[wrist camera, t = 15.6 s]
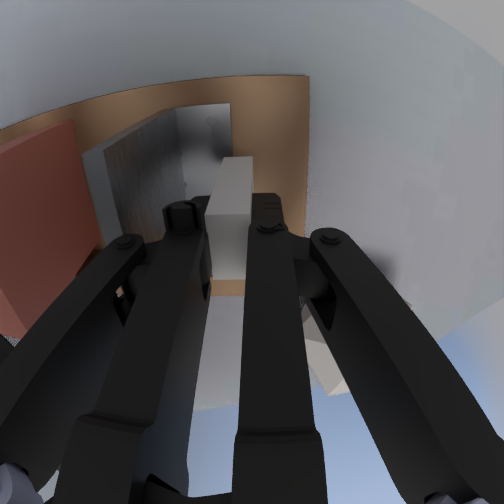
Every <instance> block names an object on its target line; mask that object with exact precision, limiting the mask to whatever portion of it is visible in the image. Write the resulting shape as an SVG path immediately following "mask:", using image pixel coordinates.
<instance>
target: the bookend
mask: <svg viewBox="0 0 504 504" xmlns="http://www.w3.org/2000/svg"><path fill="white" fill-rule="evenodd" d="M224 157H233V143H232V125H231V107H230V103H217V104H205V105H194V106H184V107H176V108H168V109H163V110H161V111H158V112H156V113H154V114H152V115H150V116H148V117H146V118H144V119H142V120H140V121H139V122H137V123H135V124H133V125H131V126H129V127H127V128H125V129H124V130H122V131H120V132H118V133H116V134H115V135H113V136H111V137H109V138H108V139H106V140H104V141H103V142H101V143H99V144H97V145H96V146H94V147H93V148H91V149H89V150H88V151H86V152H85V153H83V154H82V158H83V162H84V167H85V171H86V176H87V180H88V184H89V188H90V192H91V196H92V199H93V203H94V207H95V210H96V214H97V217H98V221H99V224H100V227H101V231H102V234H103V237H104V240H105V243H106V246H107V245H108V244H109V243H110V242H112V241H113V240H114V239H116V238H118V237H120V236H121V235H124V234H125V235H126V234H129V233H130V234H139V235H141V236H142V237H143V239H144V242H145V244H146V243H150V242H155V241H158V240H162V238H163V236H164V234H165V232H166V228H165V223H164V218H163V213H162V209H163V208H164V207H165V206H167V205H168V204H170V203H173V202H177V201H183V200H191V199H192V198H193V197H195V196H206V195H211V194H212V191H213V188H214V185H215V182H216V179H217V176H218V173H219V170H220V167H221V165H222V162H223V159H224ZM121 289H122V288H121ZM122 292H123V291H122Z"/></svg>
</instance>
